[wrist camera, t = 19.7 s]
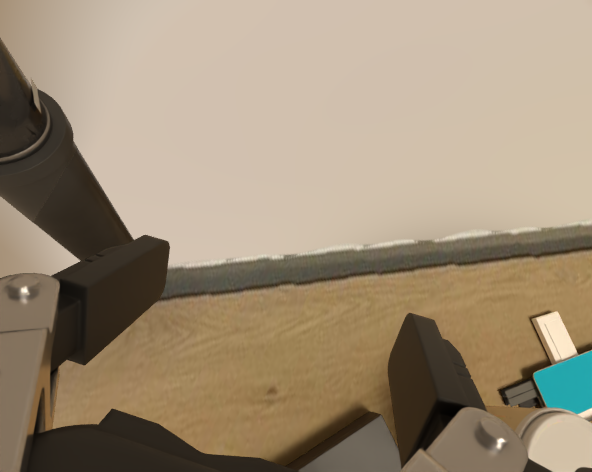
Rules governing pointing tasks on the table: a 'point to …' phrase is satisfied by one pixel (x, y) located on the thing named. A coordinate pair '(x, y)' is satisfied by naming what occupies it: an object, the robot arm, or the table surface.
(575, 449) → the coffee cup
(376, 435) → the cover
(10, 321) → the robot arm
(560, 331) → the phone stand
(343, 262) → the table surface
